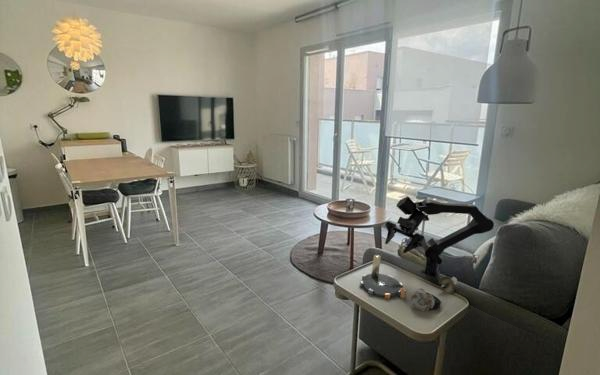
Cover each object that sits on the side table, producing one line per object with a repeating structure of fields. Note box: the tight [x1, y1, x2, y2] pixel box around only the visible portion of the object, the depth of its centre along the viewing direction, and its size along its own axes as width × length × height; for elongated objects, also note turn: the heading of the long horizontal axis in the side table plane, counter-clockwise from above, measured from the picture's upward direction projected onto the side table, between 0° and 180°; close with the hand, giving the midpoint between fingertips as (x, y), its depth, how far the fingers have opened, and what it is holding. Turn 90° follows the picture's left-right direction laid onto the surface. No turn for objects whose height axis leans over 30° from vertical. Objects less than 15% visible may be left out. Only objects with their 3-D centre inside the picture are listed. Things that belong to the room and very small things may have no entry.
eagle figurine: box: [438, 273, 458, 295], centre depth 138 cm, size 8×7×9 cm
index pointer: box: [399, 288, 408, 299], centre depth 129 cm, size 2×2×4 cm
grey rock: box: [409, 288, 442, 313], centre depth 125 cm, size 7×11×10 cm
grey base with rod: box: [359, 254, 404, 300], centre depth 135 cm, size 17×17×11 cm
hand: (394, 248), depth 143 cm, fingers open, 9 cm apart
